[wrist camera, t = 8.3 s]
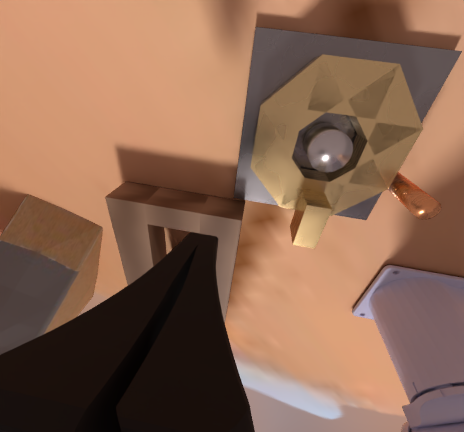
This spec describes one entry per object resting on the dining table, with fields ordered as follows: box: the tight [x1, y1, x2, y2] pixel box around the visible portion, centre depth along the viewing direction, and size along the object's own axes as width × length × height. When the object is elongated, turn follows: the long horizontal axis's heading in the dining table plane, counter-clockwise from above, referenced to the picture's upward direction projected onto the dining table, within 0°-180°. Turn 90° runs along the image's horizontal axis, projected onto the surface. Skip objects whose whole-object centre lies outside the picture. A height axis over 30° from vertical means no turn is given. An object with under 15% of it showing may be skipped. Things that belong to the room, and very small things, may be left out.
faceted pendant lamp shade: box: [250, 54, 423, 249], centre depth 13 cm, size 9×10×4 cm
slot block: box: [105, 182, 245, 323], centre depth 22 cm, size 11×16×3 cm
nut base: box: [234, 27, 462, 220], centre depth 13 cm, size 12×11×5 cm
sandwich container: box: [0, 194, 103, 355], centre depth 21 cm, size 9×15×15 cm, turn 154°
